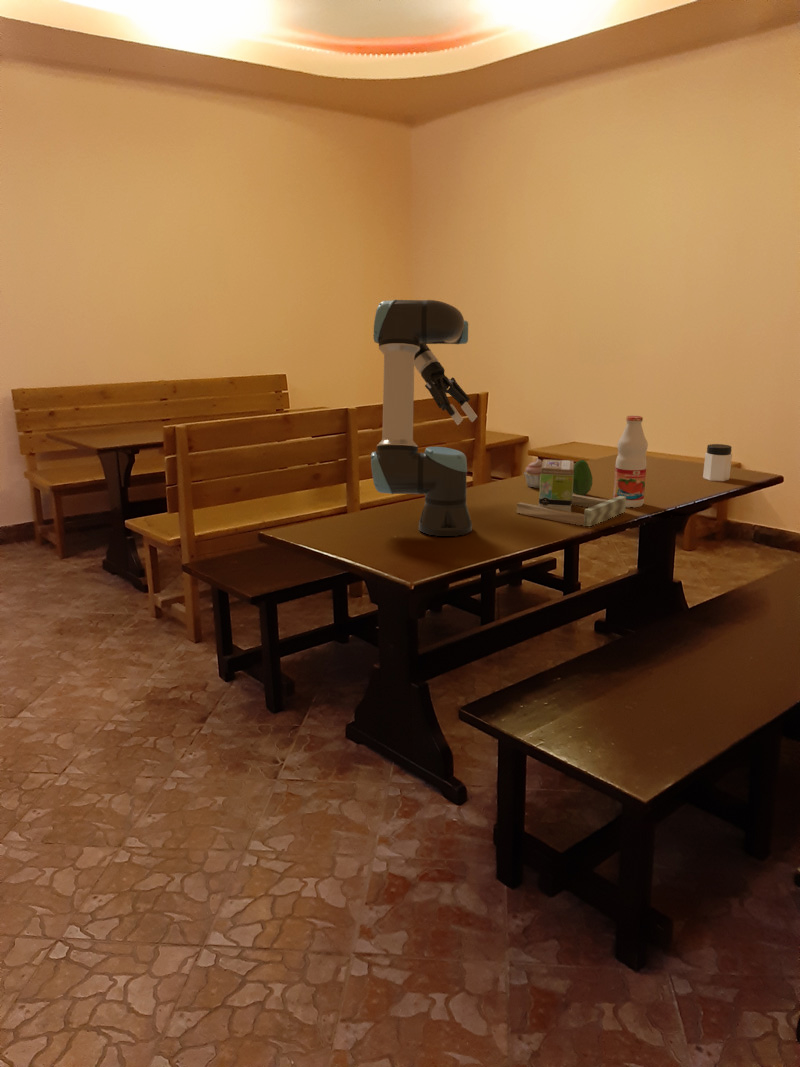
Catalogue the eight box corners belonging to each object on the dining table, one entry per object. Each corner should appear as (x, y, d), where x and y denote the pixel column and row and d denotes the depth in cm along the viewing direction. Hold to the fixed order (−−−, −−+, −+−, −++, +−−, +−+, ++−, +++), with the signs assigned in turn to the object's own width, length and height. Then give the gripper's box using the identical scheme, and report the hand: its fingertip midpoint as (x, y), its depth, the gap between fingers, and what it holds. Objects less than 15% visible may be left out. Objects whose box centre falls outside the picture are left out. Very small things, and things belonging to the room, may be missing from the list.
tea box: (571, 517, 250) (574, 468, 246) (537, 515, 252) (539, 467, 248) (571, 505, 265) (574, 459, 260) (539, 503, 267) (541, 458, 262)
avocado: (585, 492, 281) (587, 457, 278) (595, 497, 274) (597, 461, 271) (563, 493, 280) (565, 458, 276) (572, 498, 272) (574, 462, 269)
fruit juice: (638, 500, 269) (644, 414, 262) (647, 507, 260) (654, 418, 253) (609, 501, 269) (615, 414, 261) (617, 508, 260) (623, 419, 252)
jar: (733, 480, 297) (737, 447, 293) (713, 482, 295) (716, 448, 292) (719, 475, 305) (722, 443, 302) (699, 476, 303) (702, 444, 300)
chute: (589, 527, 239) (590, 510, 238) (516, 513, 255) (517, 497, 254) (625, 512, 255) (626, 496, 254) (554, 499, 271) (554, 484, 269)
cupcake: (523, 483, 295) (524, 455, 292) (550, 484, 293) (551, 456, 290) (521, 488, 286) (522, 460, 283) (549, 490, 284) (550, 461, 282)
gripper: (441, 373, 289) (478, 424, 283) (404, 377, 274) (442, 431, 269) (454, 358, 284) (492, 410, 278) (416, 362, 270) (455, 416, 264)
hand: (467, 420), depth 273 cm, fingers open, 7 cm apart
